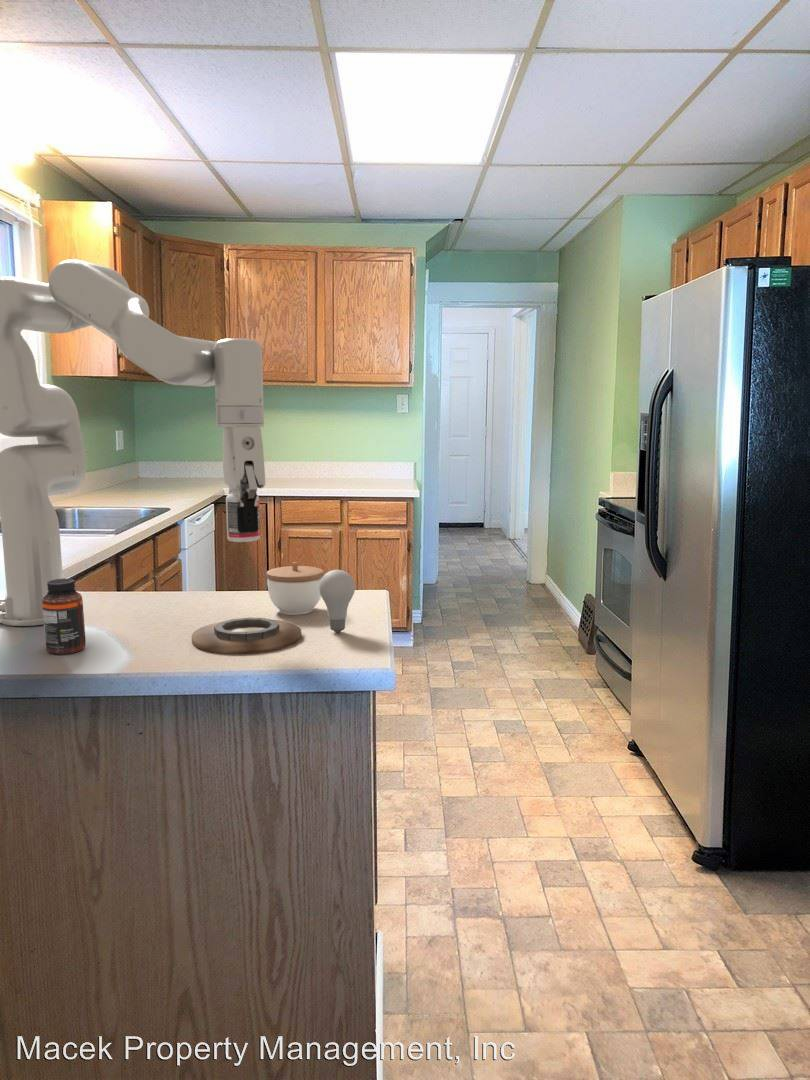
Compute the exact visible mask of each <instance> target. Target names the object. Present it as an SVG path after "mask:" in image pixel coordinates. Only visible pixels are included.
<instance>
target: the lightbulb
mask: <svg viewBox="0 0 810 1080" xmlns="http://www.w3.org/2000/svg"><path fill="white" fill-rule="evenodd" d="M319 591H320V594H321V598H322V600H323V602H324V604H325V606H326V609H327V615H328V618H329V628H330V630H331V631H333V632H334V633H336V634H340V633H341V632H342V631H344V630H345V628H346V618H347V615H348V607H349V604H350V603H351V600H352V598H353V596H354V595H355V591H356V584H355V580H354V578H353V577H352V576H351V574H349V573H348V572H347V571H344V570H342V569H331V570H330V571H328V572H326V573H325V574H324V576H323V577H322V579H321V581H320V584H319Z"/></svg>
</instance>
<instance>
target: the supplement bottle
mask: <svg viewBox="0 0 810 1080" xmlns="http://www.w3.org/2000/svg"><path fill="white" fill-rule="evenodd" d="M75 582H76V581H75V579H72V578H63V579H56V580H51V581H49V582H48V583H47V586H48V593H47V595H46V596H44V597H43V600H42V606H43V618H44V625H43V628H44V640H45V651H47V653H48V654H52V655H55V656H56V655H57V656H58V655H60V656H61V655H68V654H74V653H75V654H76V653H78V652H81V651H82V650H84V649H85V648H86V646H87V645H86V644H87V642H86V641H87V640H86V639H87V638H86V628H85V627H86V626H85V615H84V602H83V601H84V600H83V596H82V594H81V592H79V591H77V590H76V589H75V588H76V583H75Z"/></svg>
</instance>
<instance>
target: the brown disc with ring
mask: <svg viewBox="0 0 810 1080" xmlns="http://www.w3.org/2000/svg"><path fill="white" fill-rule="evenodd" d="M301 638H302V628H301V627H300V626H299V625H297V624H295V623H292V622H290V621H285V620H278V619H270V618H267V617H241V618H232V619H228V620H223V621H219V622H214V623H212V624H207V625H204V626H201V627H200V628H197V629H196V630H194V631H193V632H192V633H191V644H192V646H194V647H195V648H197V649H199V650H201V651H205V652H210V653H215V654H231V655H239V654H240V655H242V654H244V655H245V654H258V653H266V652H272V651H276V650H280V649H283V648H284V649H285V648H288V647H290V646H292V645H294V644H297V643H298V642H299V641H300V640H301Z"/></svg>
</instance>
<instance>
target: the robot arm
mask: <svg viewBox="0 0 810 1080" xmlns="http://www.w3.org/2000/svg"><path fill="white" fill-rule="evenodd" d="M149 317H150V308H149V304H148V302H147V300H146V299H145V298H144V297H142V296H141V295H139V294H137V293H136V292H134V291H133V290H131V289H130V286H129V284H128V282H127V280H126V279H125V277H124V276H123V275H122V274H121V273H119V272H118V271H117V270H115V269H113V268H111V267H109V266H105V265H104V266H103V265H100V264H96V263H92V262H87V261H84V260H81V259H80V260H78V259H67V260H63V261H61V262H59V263H57V264H56V265H55V266H54V267H52V269H51V270H50V273H49V275H48V279H47V283H45V282H40V281H36V280H31V279H28V278H27V279H26V278H21V277H16V276H1V277H0V434H1V435H3V436H5V437H10V438H35V437H36V439H37V443H34V444H20V445H18V444H17V445H13V446H8V447H7V448H4V449H3V450H1V451H0V526H1V527H0V528H1V536H2V537H1V539H2V540H1V541H2V550H3V551H2V552H3V563H4V574H5V575H4V577H5V588H6V589H5V591H6V593H4V597H0V612H1V613H0V624H3V625H4V626H12V627H32V626H33V627H34V626H44V618H43V606H42V600H43V597H44V596H46V595H47V593H48V586H47V583H48V582H49V581H51V580H56V579H64V578H63V577H64V576H63V562H62V547H61V533H60V523H59V517H58V514H57V512H56V509H55V507H54V505H53V504H52V502H51V500H50V498H49V496H58V495H64V494H69V493H72V492H75V491H76V490H77V489H79V488H80V487H81V485H82V484H83V482H84V481H85V477H86V473H87V469H86V468H87V465H86V464H87V463H86V455H85V449H84V443H83V435H82V430H81V423H80V416H79V412H78V409H77V405H76V403H75V402H74V401H75V400H73V399H74V398H72V396H71V395H70V394H69V393H68V392H67V391H66V390H64V389H63V388H62V387H59V386H57V385H52V384H42V383H40V381H39V378H38V373H37V365H36V360H35V359H36V358H35V356H34V354H33V352H32V349H31V347H30V345H29V343H28V342H27V341H26V340H25V338H24V337H23V336H22V331H24V330H26V331H32V332H41V333H49V334H67V333H71V332H75V331H78V330H80V329H84V328H87V327H90V326H91V327H93V328H95V329H97V330H98V331H100V332H101V333H102V334H103V335H105V336H107V337H109V338H110V339H112V340H113V341H114V343H115V345H116V347H117V349H118V350H119V351H120V352H121V354H122V355H123V356H124V357H125V358H126V359H127V360H128V361H130V362H131V363H132V364H134V365H136V366H137V367H138V368H139V369H141V370H143V371H145V372H146V373H147V374H149V375H151V376H152V377H154V378H156V379H158V380H159V381H162V382H163V383H166V384H169V385H173V386H190V387H192V386H193V387H203V388H204V387H205V388H206V387H214V389H215V390H214V391H215V411H216V412H215V415H216V427H217V428H222V470H223V471H222V473H223V474H222V475H223V481H224V483H225V485H226V486H228V495H229V494H231V490H230V486H231V487H233V488H235V489H237V491H238V500H239V507H237V522H238V531H239V532H256V531H258V507H257V495H258V494H257V492H258V489H263V488H264V487H265V486H266V474H265V473H266V469H265V455H264V444H263V438H262V437H263V436H262V430H261V428H264V427H265V414H264V413H265V411H264V409H265V408H264V379H263V377H264V376H263V375H264V374H263V373H264V372H263V370H264V369H263V348H262V345H261V344H260V342H258V341H257V340H255V339H249V338H236V337H235V338H223V339H220V340H218V341H214V340H213V341H211V340H208V339H207V340H206V339H200V338H195V337H194V338H193V337H189V336H188V337H187V336H180V335H178V334H175V333H174V332H172V331H170V330H168V329H167V328H165V327H163V326H162V325H160V324H158V323H157V322H155V320H152V319H151V318H149ZM240 480H241V482H240ZM244 484H247V487H241V486H242V485H244ZM243 492H244V496H243Z"/></svg>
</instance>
